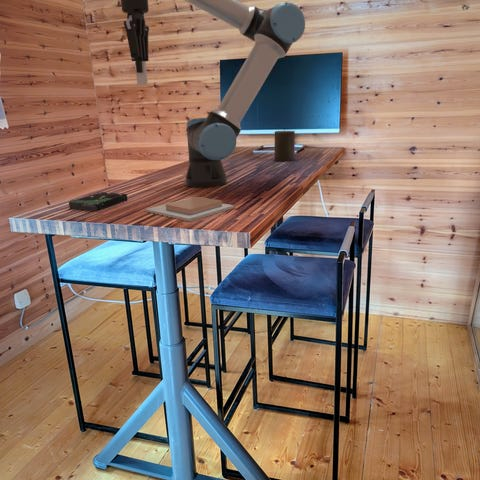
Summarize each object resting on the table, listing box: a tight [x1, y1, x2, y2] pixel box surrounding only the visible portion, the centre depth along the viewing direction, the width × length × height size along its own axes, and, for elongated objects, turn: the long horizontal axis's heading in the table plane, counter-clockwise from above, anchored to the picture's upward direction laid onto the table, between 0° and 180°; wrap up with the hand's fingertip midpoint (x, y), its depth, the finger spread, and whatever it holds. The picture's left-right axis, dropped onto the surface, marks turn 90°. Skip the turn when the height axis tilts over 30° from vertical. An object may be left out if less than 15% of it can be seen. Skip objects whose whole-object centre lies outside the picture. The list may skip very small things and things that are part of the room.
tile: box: [165, 196, 223, 215], centre depth 123 cm, size 12×2×10 cm
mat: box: [145, 197, 234, 222], centre depth 125 cm, size 17×18×1 cm
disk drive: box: [68, 191, 128, 212], centre depth 135 cm, size 10×3×15 cm
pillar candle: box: [274, 128, 296, 162], centre depth 213 cm, size 10×10×15 cm
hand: (142, 84), depth 133 cm, fingers closed
